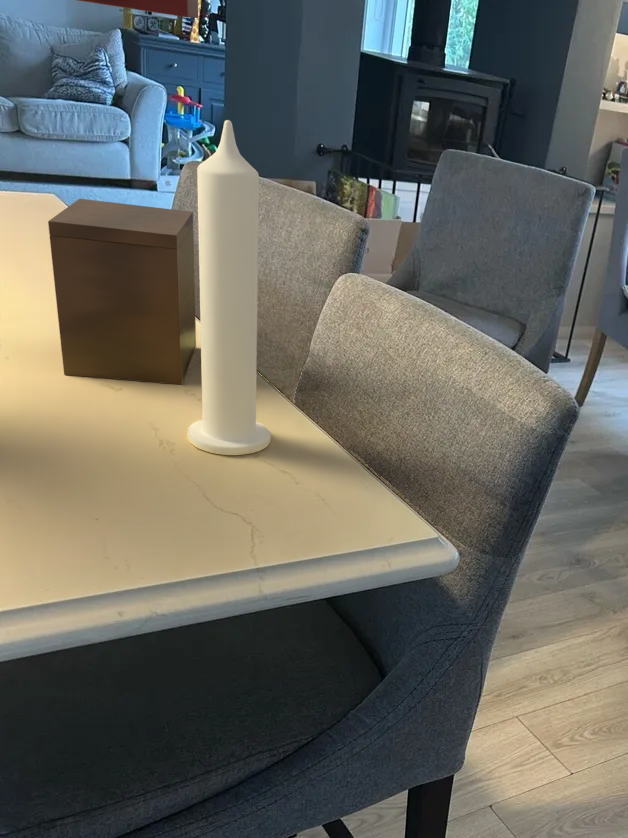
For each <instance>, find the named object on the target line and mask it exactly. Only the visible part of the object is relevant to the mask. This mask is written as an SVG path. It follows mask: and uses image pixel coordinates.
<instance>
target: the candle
mask: <svg viewBox="0 0 628 838" xmlns="http://www.w3.org/2000/svg"><path fill="white" fill-rule="evenodd" d="M235 137H236V136H235V132H234V127H233V122H232V121H231V120H230V119H226V120H224V122H223V128H222V132H221V137H220V142H219V144H218V145H217V146H218V147H217V149H216V151H215V152H214V153H212V155H210V156H209V157H208V158H207V159H205V160H204V161H202V162H201V163H200V164H198V166H197V169H196V178H197V184H196V185H197V224H198V226H197V227H198V228H197V229H198V263H199V264H198V270H199V271H198V273H199V275H198V276H199V317H200V321H199V322H200V358H201V359H200V361H201V363H200V364H201V365H200V366H201V404H202V405H201V408H202V409H201V410H202V418H201V419H198V420H196V421H194V422H193V423H191V424H190V425H189V426H188V428H187V439H188V441H189V443H190V444H191V445H193V446H194V447H195V448H197V449H199V450H201V451H204V452H207V453H211V454H215V455H224V456H243V455H250V454H254V453H257V452H260V451H262V450H264V449H266V448H267V447H268V446H269V445H270V442H271V432H270V430H269V428H268V427H266V425H264V424H262V423H260V422H258V421H257V366H258V365H257V363H258V361H257V360H258V354H257V353H258V351H257V350H258V287H259V286H258V281H259V280H258V279H259V278H258V273H259V272H258V271H259V206H260V205H259V201H260V200H259V198H260V196H259V195H260V192H259V190H260V175H259V172H258V171H257V169H255V168H254V167H253V166H252V165H251V164H250V163H249V162H248V161H247V160H246V159H245V158H244V157H243V156H242V154H241V153H240V150H239V148H238V145H237V143H236V138H235Z"/></svg>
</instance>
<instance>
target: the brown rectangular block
mask: <svg viewBox="0 0 628 838" xmlns="http://www.w3.org/2000/svg"><path fill="white" fill-rule="evenodd" d="M47 225H48V233H49V244H50V254H51V265H52V272H53V281H54V291H55V300H56V311H57V321H58V330H59V339H60V348H61V350H60V351H61V358H62V368H63V375H65V376H75V377H87V378H98V379H99V378H101V379H111V380H122V381H125V380H126V381H136V382H147V383H159V384H170V385H182V384H183V382H184V379H185V376H186V373H187V371H188V370H189V369H188V368H189V366H190V364H191V361H192V358H193V356H194V354H195V351H196V348H197V332H196V331H197V330H196V329H197V327H196V326H197V325H196V321H197V320H196V284H195V244H194V243H195V242H194V241H195V240H194V239H195V237H194V212H193V211H188V210H181V209H172V208H163V207H154V206H145V205H138V204H128V203H120V202H112V201H103V200H96V199H86V198H78V199H77V200H76V201H74V202H72V203H71V204H70V205H68V206H67V207H66V208H64V209H63V210H62V211H60V212H58V213H57V214H56V215H55V216H54V217H52V218H50V219H49V220H48V221H47Z"/></svg>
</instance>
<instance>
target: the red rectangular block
mask: <svg viewBox="0 0 628 838" xmlns="http://www.w3.org/2000/svg"><path fill="white" fill-rule="evenodd" d="M76 1H79V2H84V3H91V4H98V5H102V6H103V5H104V6H110V7H117V8H125V9H130V10H137V11H142V12H150V13H155V14H162V15H169V16H175V17H181V18H191V19H198V18H199V0H76Z"/></svg>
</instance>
